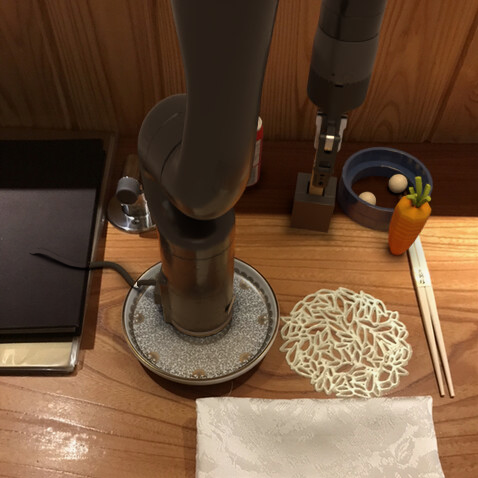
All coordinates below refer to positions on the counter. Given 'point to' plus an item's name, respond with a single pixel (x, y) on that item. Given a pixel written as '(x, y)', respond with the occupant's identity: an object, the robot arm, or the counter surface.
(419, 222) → the carrot
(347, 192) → the bowl
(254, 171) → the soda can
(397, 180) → the bead
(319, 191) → the stick
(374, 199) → the bead
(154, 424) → the counter surface
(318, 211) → the stick holder
